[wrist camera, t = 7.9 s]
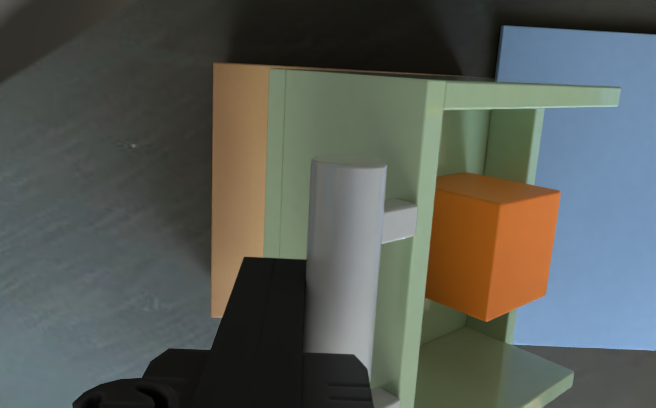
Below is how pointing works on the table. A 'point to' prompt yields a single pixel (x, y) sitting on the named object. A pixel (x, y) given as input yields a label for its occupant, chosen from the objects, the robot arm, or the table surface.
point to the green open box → (402, 222)
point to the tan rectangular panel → (241, 169)
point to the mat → (594, 188)
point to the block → (490, 244)
